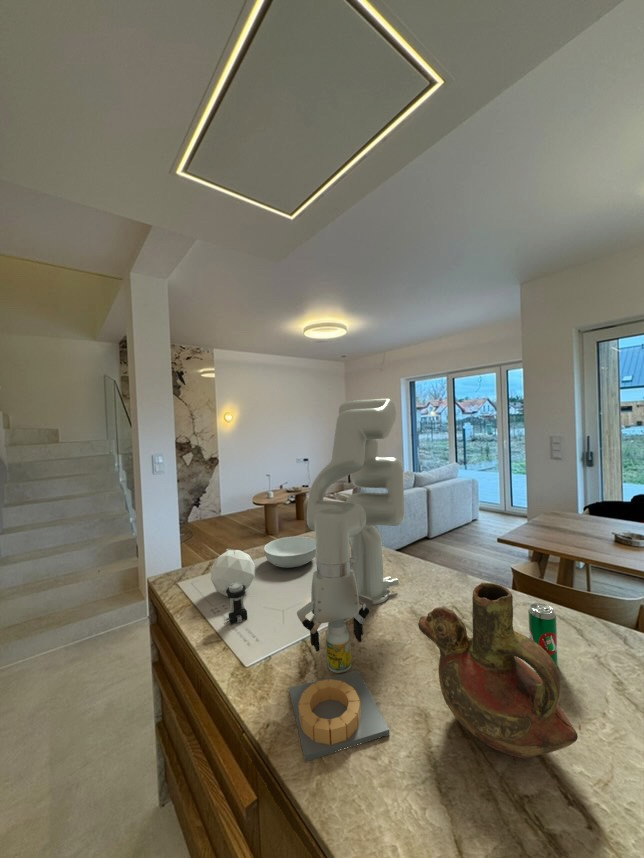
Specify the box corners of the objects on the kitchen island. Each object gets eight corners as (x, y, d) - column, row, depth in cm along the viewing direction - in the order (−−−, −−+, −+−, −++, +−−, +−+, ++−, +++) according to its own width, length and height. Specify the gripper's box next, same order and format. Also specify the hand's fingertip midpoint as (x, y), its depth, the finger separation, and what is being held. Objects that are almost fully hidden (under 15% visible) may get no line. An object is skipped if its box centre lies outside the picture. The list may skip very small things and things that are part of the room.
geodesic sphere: (198, 571, 117) (207, 544, 110) (237, 558, 127) (247, 532, 120) (215, 612, 109) (226, 585, 102) (255, 594, 118) (267, 569, 111)
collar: (348, 686, 71) (347, 674, 71) (369, 732, 60) (368, 718, 60) (294, 700, 68) (294, 687, 68) (307, 752, 57) (306, 737, 57)
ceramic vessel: (441, 665, 76) (436, 553, 76) (589, 739, 58) (585, 591, 57) (397, 715, 64) (391, 582, 64) (566, 828, 46) (560, 643, 45)
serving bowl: (329, 557, 138) (328, 539, 138) (298, 579, 121) (296, 559, 120) (287, 548, 150) (286, 532, 149) (253, 568, 132) (252, 550, 132)
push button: (227, 630, 94) (224, 593, 93) (220, 621, 98) (218, 586, 98) (250, 621, 97) (248, 586, 97) (243, 612, 102) (241, 579, 101)
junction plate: (358, 674, 75) (358, 669, 75) (389, 734, 61) (389, 729, 61) (289, 692, 71) (289, 687, 71) (305, 761, 57) (305, 755, 57)
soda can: (532, 651, 79) (530, 599, 79) (558, 660, 76) (557, 606, 76) (528, 664, 75) (526, 610, 75) (556, 674, 72) (554, 617, 72)
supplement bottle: (355, 661, 79) (353, 620, 79) (344, 677, 75) (342, 633, 74) (334, 654, 82) (332, 614, 81) (322, 669, 77) (320, 627, 77)
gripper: (363, 554, 83) (367, 626, 83) (292, 566, 79) (295, 641, 79) (376, 567, 76) (380, 645, 76) (298, 580, 71) (302, 662, 72)
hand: (337, 643), depth 77 cm, fingers open, 9 cm apart
